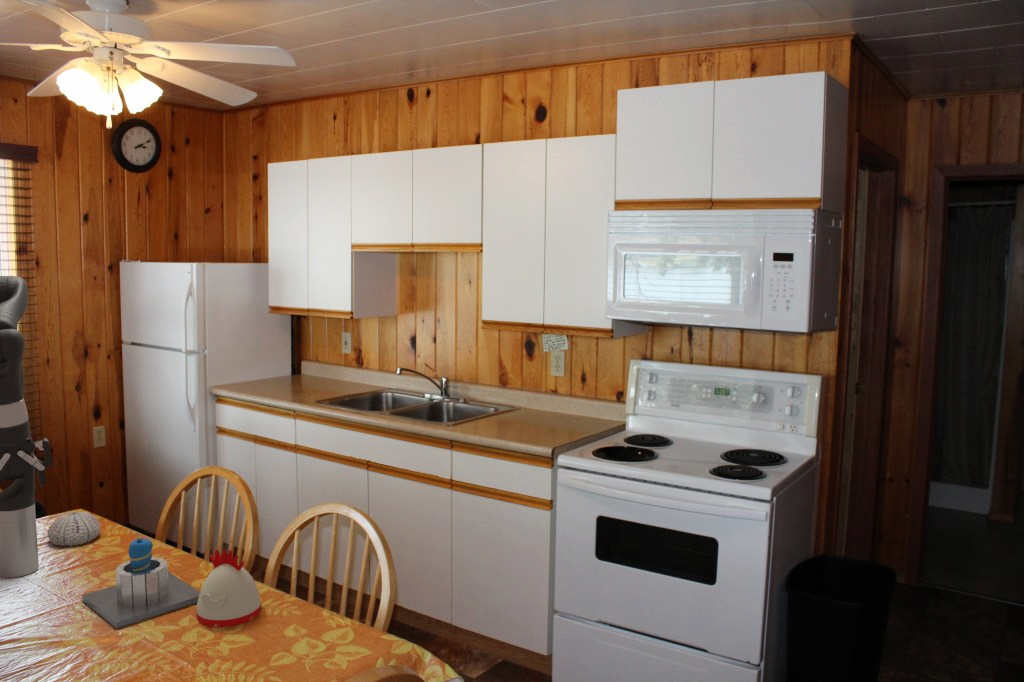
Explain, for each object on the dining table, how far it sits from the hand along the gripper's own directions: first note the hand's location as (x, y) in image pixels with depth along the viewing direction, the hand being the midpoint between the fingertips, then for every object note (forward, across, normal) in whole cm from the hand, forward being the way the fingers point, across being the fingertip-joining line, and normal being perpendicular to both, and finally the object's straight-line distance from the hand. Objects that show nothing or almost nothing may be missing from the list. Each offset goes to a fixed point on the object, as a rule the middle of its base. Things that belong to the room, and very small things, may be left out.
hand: (19, 489), depth 181 cm
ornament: (+29, -21, +9) cm, 37 cm away
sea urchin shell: (+35, -11, -43) cm, 57 cm away
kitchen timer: (+30, -36, +26) cm, 54 cm away
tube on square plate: (+30, -21, +9) cm, 38 cm away
